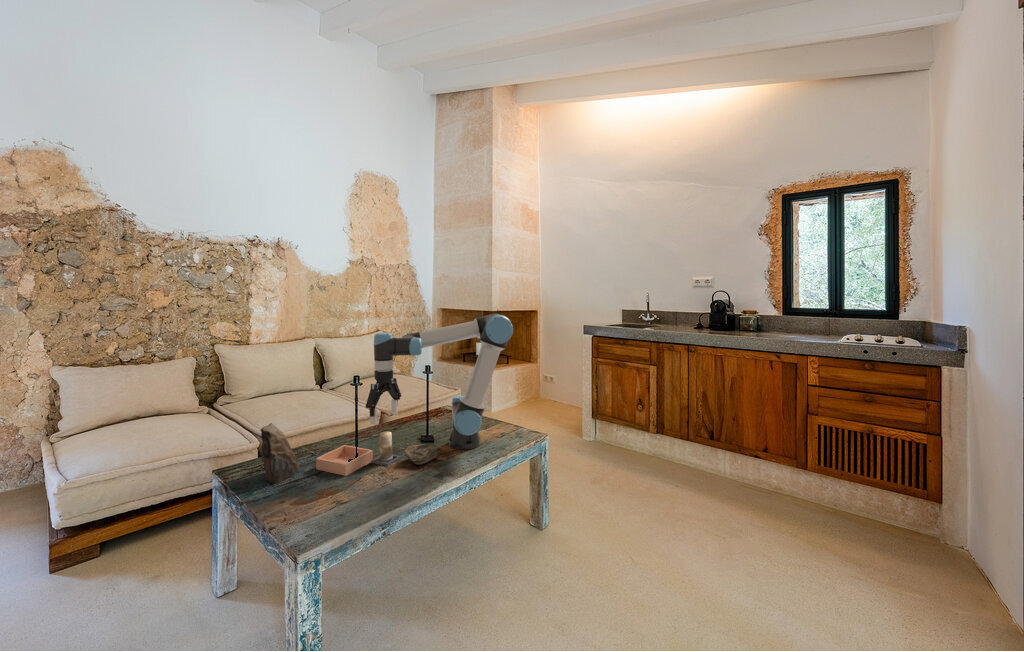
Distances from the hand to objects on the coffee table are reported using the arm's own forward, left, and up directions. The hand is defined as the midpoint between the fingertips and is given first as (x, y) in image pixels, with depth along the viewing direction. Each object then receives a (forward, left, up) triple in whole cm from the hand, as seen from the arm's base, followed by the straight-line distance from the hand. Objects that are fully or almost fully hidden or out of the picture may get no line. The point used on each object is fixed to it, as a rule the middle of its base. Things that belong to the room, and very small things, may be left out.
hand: (384, 418), depth 178 cm
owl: (+29, +27, -19) cm, 44 cm away
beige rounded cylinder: (0, 0, -18) cm, 18 cm away
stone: (-14, -6, -19) cm, 24 cm away
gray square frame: (0, 0, -18) cm, 18 cm away
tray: (+13, +10, -18) cm, 24 cm away
